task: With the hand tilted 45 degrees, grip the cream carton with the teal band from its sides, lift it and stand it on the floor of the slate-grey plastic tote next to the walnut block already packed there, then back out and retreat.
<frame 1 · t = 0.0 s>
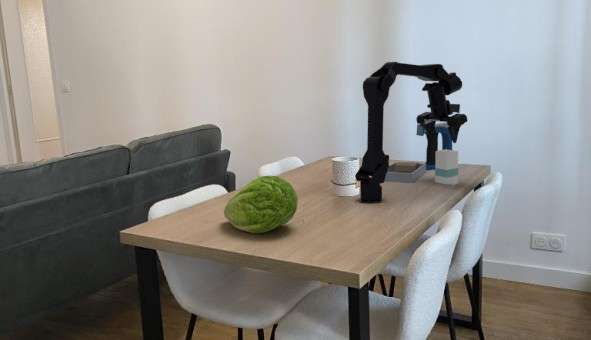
hand: (444, 141, 181), 15 cm above the table, fingers open, 9 cm apart
handheld scanner: (434, 169, 210), on the table
tote: (402, 177, 197), on the table
carton: (446, 183, 184), on the table
lettuce: (258, 228, 143), on the table
walnut block: (407, 173, 202), point 1 cm above the table, touching tote
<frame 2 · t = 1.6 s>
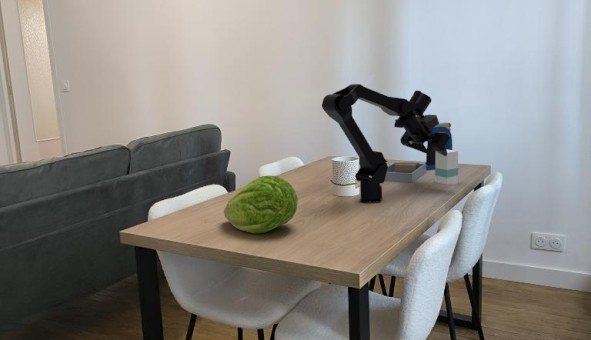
hand: (436, 153, 179), 12 cm above the table, fingers open, 9 cm apart
nothing on the table moved.
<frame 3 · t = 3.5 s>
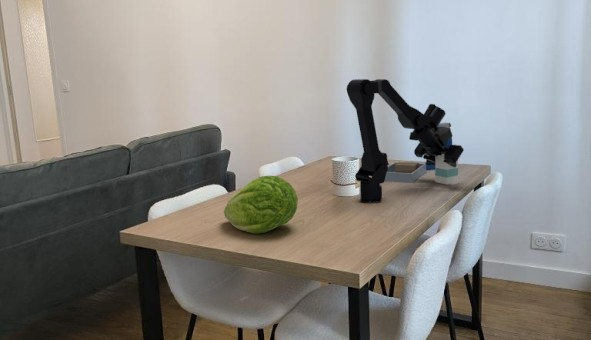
hand: (449, 165, 183), 7 cm above the table, fingers closed on carton, 5 cm apart
carton: (446, 183, 184), on the table, touching gripper
everything else where it was.
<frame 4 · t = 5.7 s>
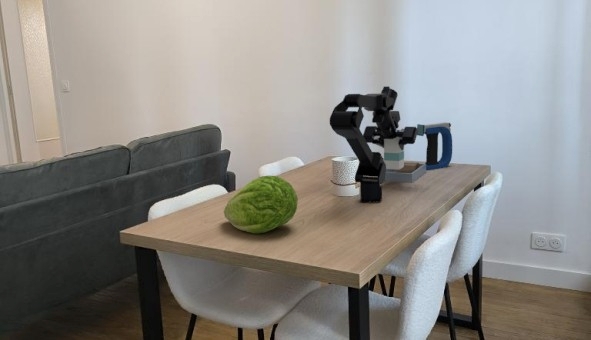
hand: (395, 148, 184), 13 cm above the table, fingers closed on carton, 5 cm apart
carton: (394, 167, 184), point 6 cm above the table, touching gripper
everything else where it was.
when the fingers open (8 cm above the table, at t = 8.0 s): carton stays where it is, resting on tote.
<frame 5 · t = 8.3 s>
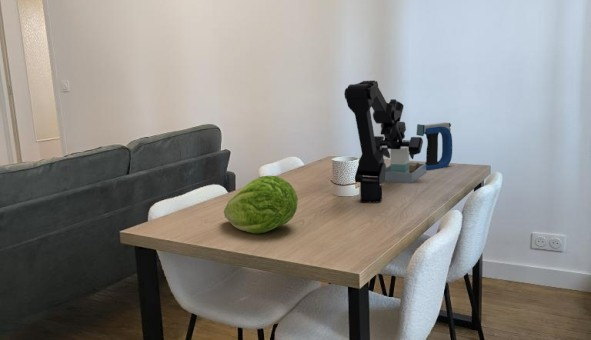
hand: (401, 157, 193), 8 cm above the table, fingers open, 9 cm apart
carton: (400, 178, 194), point 1 cm above the table, touching tote
everything else where it was.
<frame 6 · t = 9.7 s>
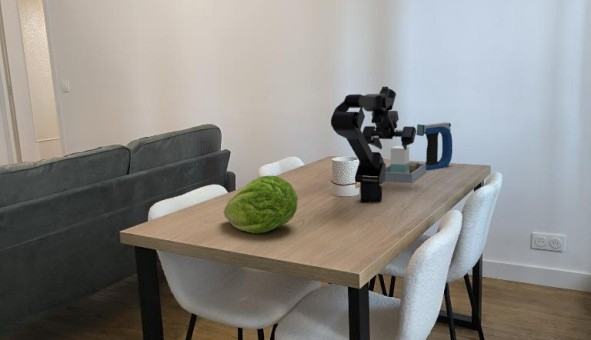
hand: (393, 148, 185), 13 cm above the table, fingers open, 9 cm apart
nothing on the table moved.
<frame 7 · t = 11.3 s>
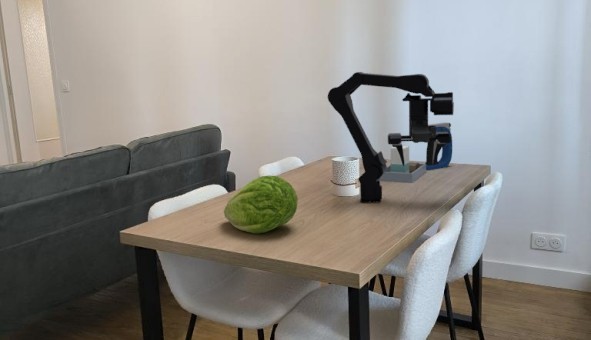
hand: (418, 165, 159), 12 cm above the table, fingers open, 9 cm apart
nothing on the table moved.
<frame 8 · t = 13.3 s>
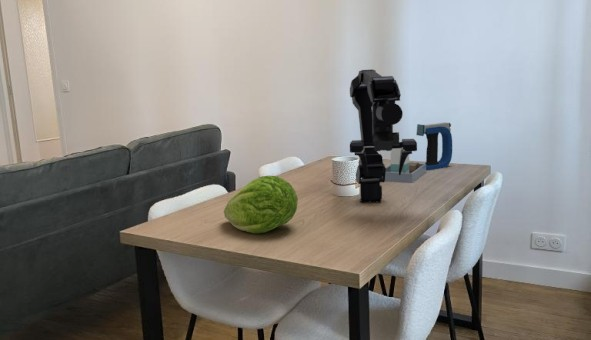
hand: (383, 175, 147), 12 cm above the table, fingers open, 9 cm apart
nothing on the table moved.
at the end: carton 3.5 cm from the tote (horizontally); carton tilted 0°; carton point 0.6 cm above the table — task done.
